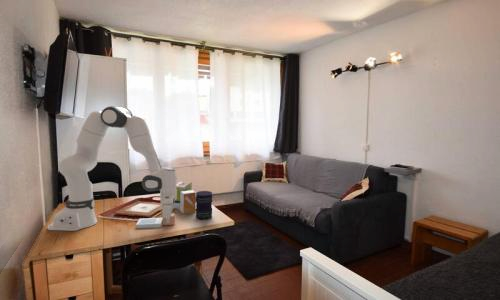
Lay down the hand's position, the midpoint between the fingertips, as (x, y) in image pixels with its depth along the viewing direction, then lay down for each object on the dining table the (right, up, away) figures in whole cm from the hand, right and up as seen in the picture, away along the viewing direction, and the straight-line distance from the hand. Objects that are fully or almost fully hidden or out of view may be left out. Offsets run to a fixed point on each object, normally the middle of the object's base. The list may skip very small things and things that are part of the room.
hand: (168, 220), depth 151 cm
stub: (0, -2, 0) cm, 2 cm away
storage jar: (+18, -1, +11) cm, 21 cm away
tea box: (-1, +2, +33) cm, 33 cm away
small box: (+6, 0, +20) cm, 21 cm away
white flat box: (-10, -2, -2) cm, 10 cm away
